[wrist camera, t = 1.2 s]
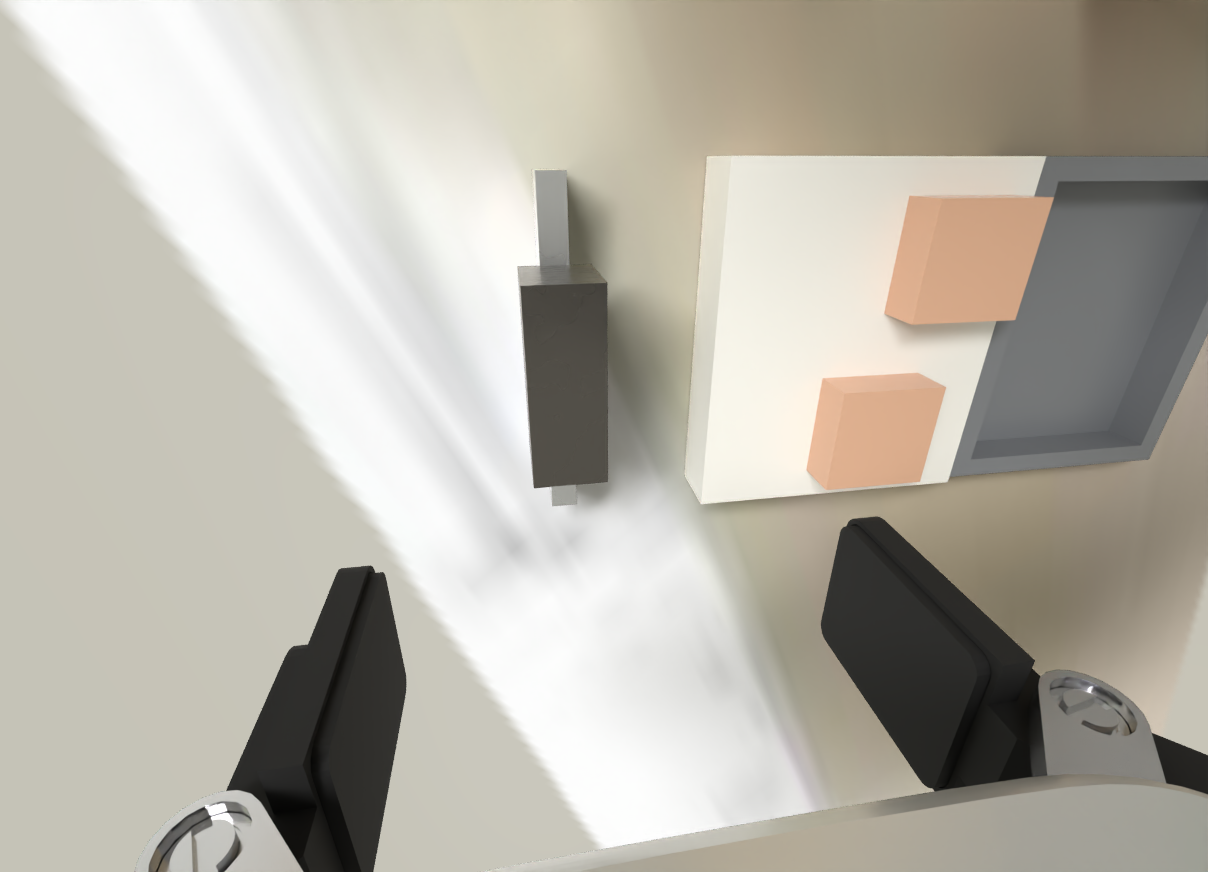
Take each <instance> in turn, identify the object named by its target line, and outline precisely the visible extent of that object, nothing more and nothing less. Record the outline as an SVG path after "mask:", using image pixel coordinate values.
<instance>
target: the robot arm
mask: <svg viewBox="0 0 1208 872" xmlns="http://www.w3.org/2000/svg"><path fill="white" fill-rule="evenodd" d="M821 629H822V634H823V636H824V638H825V640H826V642H827V643H828V645H829V646H830V648H831V649H832V651H833V652H834V654H835V655H836V657H837V658H838V660H839V661H840V663H841V664H842V666H843V667H844V668H845V670H846V671H847V673H848V674H849V676H850V677H851V679H852V680H853V682H854V683H855V685H856V686H857V688H858V689H859V691H860V692H861V694H862V695H863V696H864V698H865V699H866V701H867V702H868V704H869V705H870V707H871V708H872V710H873V711H874V713H875V714H876V716H877V717H878V719H879V720H880V722H881V723H882V725H883V726H884V727H885V729H886V730H887V732H888V733H889V735H890V736H891V738H892V739H893V741H894V742H895V744H896V745H897V747H898V748H899V750H900V751H901V753H902V754H903V756H904V757H905V758H906V760H907V761H908V763H909V764H910V766H911V767H912V769H913V770H914V772H915V773H916V775H917V776H918V778H919V779H920V780H921V782H922V783H923V784H924V785H925V786H927V787H928V788H933V789H934V791H935V792H929V793H923V794H917V795H911V796H905V797H899V798H893V799H887V800H882V801H876V802H870V803H864V804H858V805H852V806H846V807H840V808H834V809H828V810H822V811H816V812H811V813H805V814H799V815H793V816H788V817H782V818H776V819H770V820H764V821H759V822H753V823H747V824H741V825H736V826H730V827H724V828H719V829H713V830H707V831H702V832H696V833H690V834H684V835H679V836H673V837H667V838H662V839H656V840H651V841H645V842H639V843H634V844H628V845H623V846H617V847H612V848H606V849H601V850H595V851H590V852H584V853H579V854H573V855H568V856H562V857H557V858H551V859H546V860H540V861H534V862H529V863H523V864H518V865H513V866H508V867H503V868H498V869H493V870H488V871H483V872H1208V755H1206V754H1203V753H1201V752H1198V751H1196V750H1193V749H1191V748H1188V747H1186V746H1183V745H1181V744H1178V743H1175V742H1173V741H1171V740H1168V739H1166V738H1163V737H1161V736H1158V735H1156V734H1153V733H1152V732H1151V729H1150V725H1149V723H1148V721H1147V720H1146V718H1145V716H1144V714H1143V713H1142V711H1141V710H1140V709H1139V708H1138V707H1137V706H1136V705H1135V704H1134V703H1133V702H1132V701H1131V700H1130V699H1129V698H1127V697H1126V696H1125V695H1124V694H1122V693H1121V692H1120V691H1118V690H1117V689H1115V688H1113V687H1112V686H1110V685H1108V684H1106V683H1105V682H1103V681H1101V680H1098V679H1096V678H1093V677H1091V676H1089V675H1086V674H1082V673H1078V672H1074V671H1070V670H1053V671H1049V672H1046V673H1045V674H1044V675H1042V676H1041V677H1040V676H1039V675H1038V674H1037V673H1036V672H1035V671H1034V670H1033V669H1032V667H1033V664H1034V662H1035V660H1034V659H1033V658H1032V657H1030V656H1029V655H1028V654H1027V653H1026V652H1025V651H1024V650H1023V649H1022V648H1021V647H1020V646H1019V645H1018V644H1017V643H1015V642H1014V641H1013V640H1012V639H1011V638H1010V637H1009V636H1008V635H1007V634H1006V633H1005V632H1004V631H1003V630H1002V629H1000V628H999V627H998V626H997V625H996V624H995V623H994V622H993V621H992V620H991V619H990V618H989V617H988V616H987V615H985V614H984V613H983V612H982V611H981V610H980V609H979V608H978V607H977V606H976V605H975V604H974V603H973V602H972V601H970V600H969V599H968V598H967V597H966V596H965V595H964V594H963V593H962V592H961V591H960V590H959V589H958V588H957V587H955V586H954V585H953V584H952V583H951V582H950V581H949V580H948V579H947V578H946V577H945V576H944V575H943V574H942V573H940V572H939V571H938V570H937V569H936V568H935V567H934V566H933V565H932V564H931V563H930V562H929V561H928V560H927V559H925V558H924V557H923V556H922V555H921V554H920V553H919V552H918V551H917V550H916V549H915V548H914V547H913V546H912V545H910V544H909V543H908V542H907V541H906V540H905V539H904V538H903V537H902V536H901V535H900V534H899V533H898V532H897V531H895V530H894V529H893V528H892V527H891V526H890V525H889V524H888V523H887V522H886V521H885V520H883V519H882V518H880V517H867V518H857V519H852V520H850V521H849V522H848V524H847V526H846V527H843V528H842V530H841V532H840V536H839V541H838V546H837V550H836V555H835V560H834V564H833V569H832V574H831V578H830V583H829V588H828V592H827V597H826V602H825V606H824V611H823V616H822V620H821ZM405 694H406V673H405V668H404V664H403V658H402V653H401V649H400V644H399V639H398V634H397V629H396V625H395V620H394V615H393V611H392V605H391V601H390V596H389V591H388V586H387V581H386V577H385V574H384V573H383V572H380V573H375V571H374V569H373V567H372V566H362V567H351V568H341V569H339V570H338V572H337V574H336V577H335V579H334V582H333V584H332V586H331V589H330V591H329V594H328V596H327V599H326V602H325V604H324V606H323V609H322V611H321V614H320V616H319V619H318V621H317V624H316V626H315V629H314V631H313V634H312V636H311V638H310V641H309V644H308V645H301V646H293V647H292V648H291V649H290V650H289V651H288V653H287V655H286V657H285V658H284V661H283V663H282V665H281V667H280V670H279V672H278V674H277V677H276V679H275V681H274V684H273V686H272V688H271V690H270V692H269V695H268V697H267V699H266V702H265V704H264V706H263V708H262V711H261V713H260V715H259V717H258V720H257V722H256V724H255V727H254V729H253V731H252V734H251V736H250V738H249V740H248V742H247V745H246V747H245V749H244V752H243V754H242V756H241V758H240V761H239V763H238V765H237V768H236V770H235V772H234V774H233V777H232V779H231V781H230V784H229V786H228V788H227V790H226V791H221V792H218V793H216V794H212V795H209V796H206V797H203V798H201V799H199V800H198V801H196V802H194V803H192V804H190V805H188V806H187V807H185V808H183V809H182V810H181V811H179V812H178V813H177V814H176V815H174V816H173V817H172V818H171V819H169V820H168V821H167V822H166V823H165V824H164V825H163V826H162V827H161V828H160V829H159V830H158V831H157V832H156V834H155V835H154V836H153V837H152V838H151V839H150V840H149V842H148V844H147V845H146V847H145V849H144V850H143V852H142V853H141V855H140V857H139V858H138V861H137V865H136V868H135V871H134V872H373V870H374V865H375V859H376V854H377V848H378V843H379V838H380V832H381V827H382V821H383V816H384V810H385V805H386V799H387V794H388V788H389V782H390V777H391V771H392V766H393V760H394V755H395V750H396V744H397V739H398V733H399V728H400V722H401V717H402V711H403V705H404V700H405Z"/></svg>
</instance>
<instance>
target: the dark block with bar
mask: <svg viewBox="0 0 1208 872" xmlns="http://www.w3.org/2000/svg"><path fill="white" fill-rule="evenodd" d="M532 187H533V206H534V224H535V243H536V261H537V266H517V267H518V282H519V296H520V311H521V325H522V340H523V355H524V369H525V384H526V398H527V413H528V427H529V442H530V453H531V463H532V474H533V484H534V488H543V487H550V493H551V500H552V506H561V505H573V504H577V499H576V485H578V484H589V483H601V482H608V399H607V282H606V281H605V280H604V278H603V277H602V276H601V275H600V274H599V273H598V271H597V270H596V269H595V268H594V267H593V266H592V264H579V265H569V234H568V201H567V170H563V169H532Z"/></svg>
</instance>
